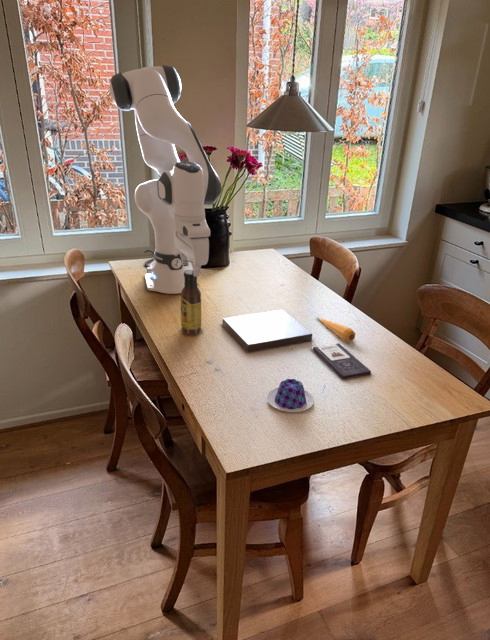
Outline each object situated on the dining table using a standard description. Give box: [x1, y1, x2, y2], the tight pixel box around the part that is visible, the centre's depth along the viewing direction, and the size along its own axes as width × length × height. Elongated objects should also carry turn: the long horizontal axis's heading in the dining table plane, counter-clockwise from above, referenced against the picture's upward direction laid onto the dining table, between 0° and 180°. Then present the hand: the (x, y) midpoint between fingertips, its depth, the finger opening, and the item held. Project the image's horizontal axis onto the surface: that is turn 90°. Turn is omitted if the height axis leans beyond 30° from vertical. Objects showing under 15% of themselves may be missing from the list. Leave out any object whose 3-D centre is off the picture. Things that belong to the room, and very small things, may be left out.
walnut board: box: [222, 309, 313, 353], centre depth 170 cm, size 20×22×2 cm
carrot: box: [317, 317, 356, 343], centre depth 174 cm, size 20×4×4 cm, turn 27°
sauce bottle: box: [180, 270, 202, 336], centre depth 163 cm, size 6×6×20 cm
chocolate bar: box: [312, 342, 372, 380], centre depth 156 cm, size 9×1×18 cm
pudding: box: [266, 378, 315, 413], centre depth 135 cm, size 12×12×5 cm
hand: (190, 270), depth 158 cm, fingers open, 8 cm apart
